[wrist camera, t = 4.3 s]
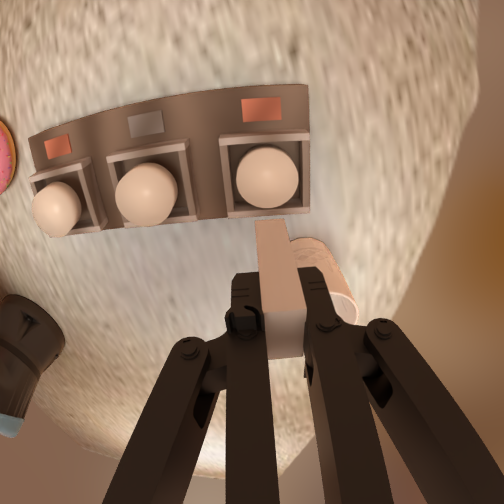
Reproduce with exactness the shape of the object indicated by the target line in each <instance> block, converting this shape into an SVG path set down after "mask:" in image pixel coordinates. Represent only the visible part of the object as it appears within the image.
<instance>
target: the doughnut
mask: <svg viewBox="0 0 504 504" xmlns="http://www.w3.org/2000/svg"><path fill="white" fill-rule="evenodd" d="M15 164H16V154H15V147H14V142H13V139H12V136H11V134H10V132H9V130H8V129H7V127H6V126H5V125H4V124H3V123H2V122H1V121H0V194H2V193H3V192H4V191H5V189H6V188H7V187H8V185H9V184H10V182H11V180H12V177H13V174H14V170H15Z"/></svg>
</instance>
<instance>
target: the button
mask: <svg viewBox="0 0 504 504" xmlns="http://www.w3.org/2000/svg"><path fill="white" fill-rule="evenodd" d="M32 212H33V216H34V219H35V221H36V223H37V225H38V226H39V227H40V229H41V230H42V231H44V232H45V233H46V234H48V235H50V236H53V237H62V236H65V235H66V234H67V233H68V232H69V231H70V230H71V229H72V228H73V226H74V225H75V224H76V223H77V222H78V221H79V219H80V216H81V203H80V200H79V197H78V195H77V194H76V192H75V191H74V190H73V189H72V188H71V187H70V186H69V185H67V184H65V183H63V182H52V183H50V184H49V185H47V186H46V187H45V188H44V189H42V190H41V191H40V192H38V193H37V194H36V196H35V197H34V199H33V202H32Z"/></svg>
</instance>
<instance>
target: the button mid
mask: <svg viewBox="0 0 504 504" xmlns="http://www.w3.org/2000/svg"><path fill="white" fill-rule="evenodd" d="M177 195H178V187H177V183H176V181H175V178H174V177H173V175H172V174H171V173H170V172H169V171H168V170H167V169H166V168H165V167H163V166H161V165H159V164H156V163H142V164H139V165H137V166H135V167H133V168H132V169H131V170H130V171H129V172H128V173H127V174H126V175H125V176H124V177H123V178H122V179H121V180H120V181H119V183H118V185H117V187H116V192H115V200H116V204H117V207H118V209H119V211H120V212H121V214H122V215H123V216H124V217H125V218H126V219H127V220H128V221H130V222H132V223H133V224H136V225H139V226H144V227H150V226H155V225H158V224H160V223H161V222H163V221H164V220H165V219H166V218H167V217H168V216H169V214H170V212H171V210H172V208H173V206H174V204H175V202H176V199H177Z"/></svg>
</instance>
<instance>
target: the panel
mask: <svg viewBox="0 0 504 504" xmlns="http://www.w3.org/2000/svg"><path fill="white" fill-rule="evenodd" d="M28 141H29V145H30V149H31V153H32V157H33V161H34V164H35V168H36V173H35V174H33V175H32V176H30V177H29V181H30V184H31V187H32V190H33V194H34V197H35V196H36V194H37V193H38V192H40V191H41V190H42V189H44V188H45V187H46V186H47V185H49V184H50V183H52V182H63V183H65V184H67V185H69V186H70V187H71V188H72V189H73V190H74V191H75V192H76V194H77V195H78V197H79V200H80V203H81V216H80V219H79V221H78V222H77V223H76V224H75V225H74V226H73V228H72V229H71V230H70V231H69V232H68V233H67V234H66V235H65V236H67V235H74V234H82V233H90V232H98V231H102V230H106V229H115V228H124V227H125V228H133V227H143V226H139V225H136V224H133V223H132V222H130V221H128V220H127V219H126V218H125V217H124V216H123V215H122V214H121V212H120V211H119V209H118V207H117V204H116V200H115V192H116V187H117V185H118V183H119V181H120V180H121V179H122V178H123V177H124V176H125V175H126V174H127V173H128V172H129V171H130V170H131V169H132V168H133V167H135V166H137V165H139V164H142V163H156V164H159V165H161V166H163V167H165V168H166V169H167V170H168V171H169V172H170V173H171V174H172V175H173V177H174V178H175V181H176V183H177V187H178V195H177V199H176V202H175V204H174V206H173V208H172V210H171V212H170V214H169V216H168V217H167V218H166V219H165V220H164V221H163V222H161V223H160V224H158V225H162V224H172V223H183V222H194V221H197V220H203V219H215V218H227V217H228V219H229V218H242V217H256V216H270V215H285V214H302V213H310V127H309V96H308V85H304V84H283V85H260V86H246V87H234V88H224V89H215V90H207V91H200V92H193V93H186V94H180V95H174V96H168V97H163V98H158V99H153V100H148V101H143V102H139V103H135V104H130V105H126V106H122V107H118V108H114V109H110V110H107V111H103V112H100V113H96V114H93V115H89V116H86V117H83V118H80V119H77V120H74V121H71V122H68V123H65V124H62V125H59V126H56V127H53V128H51V129H48V130H45V131H43V132H41V133H38V134H36V135H34V136H32V137H30V138H28ZM259 145H273V146H277V147H279V148H281V149H283V150H284V151H285V152H286V153H287V154H288V155H289V156H290V157H291V159H292V161H293V163H294V165H295V167H296V169H297V172H298V186H297V189H296V191H295V193H294V194H293V196H292V197H291V198H290V199H289V200H288V201H287V202H285V203H284V204H282V205H280V206H277V207H274V208H260V207H256V206H254V205H252V204H250V203H248V202H247V201H246V200H245V199H244V198H243V197H242V196H241V194H240V193H239V191H238V188H237V184H236V176H237V167H238V164H239V161H240V159H241V158H242V156H243V155H244V154H245V153H246V152H247V151H248V150H250V149H252V148H253V147H256V146H259ZM49 237H50V238H52V237H53V236H50V235H49Z"/></svg>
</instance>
